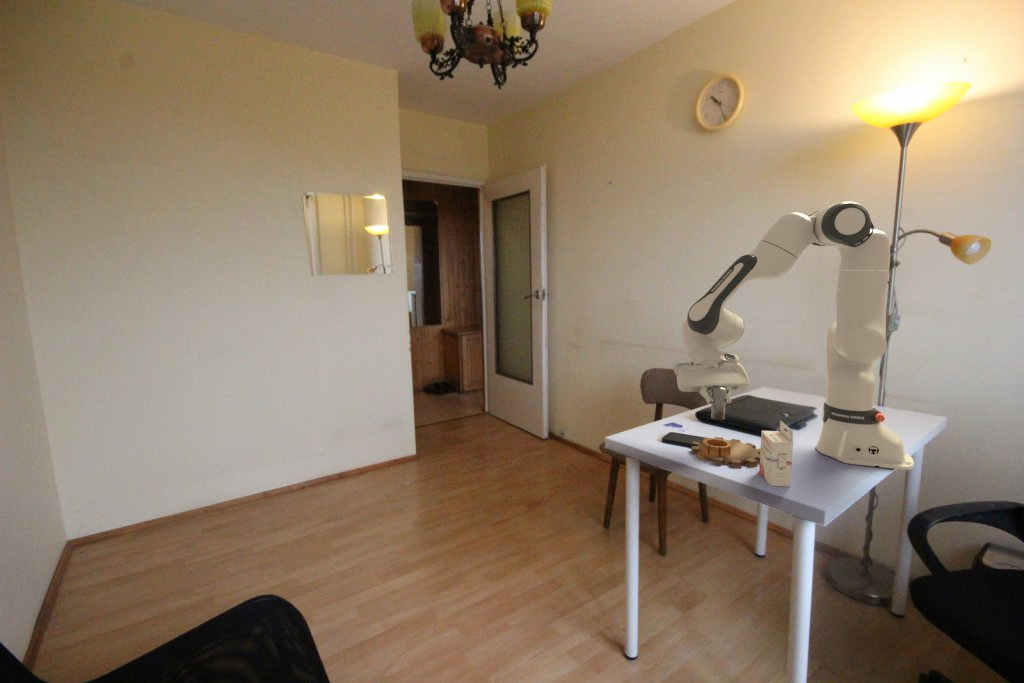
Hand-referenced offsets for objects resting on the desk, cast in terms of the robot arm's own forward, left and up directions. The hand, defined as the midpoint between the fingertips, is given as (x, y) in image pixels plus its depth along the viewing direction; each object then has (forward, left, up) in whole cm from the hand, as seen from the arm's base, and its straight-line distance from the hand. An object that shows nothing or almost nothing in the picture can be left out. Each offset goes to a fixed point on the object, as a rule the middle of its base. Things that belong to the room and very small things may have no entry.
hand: (719, 402), depth 132 cm
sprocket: (-2, -4, -16) cm, 17 cm away
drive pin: (0, -1, -5) cm, 5 cm away
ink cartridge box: (-15, +8, -17) cm, 24 cm away
